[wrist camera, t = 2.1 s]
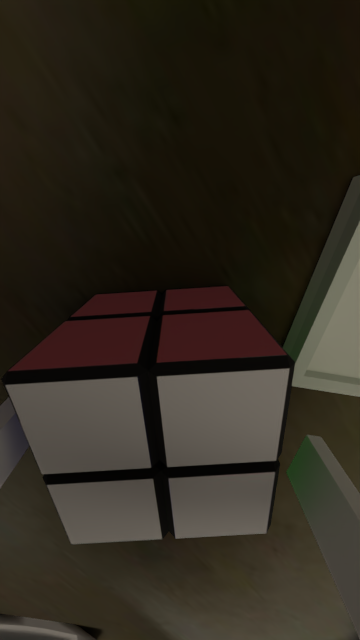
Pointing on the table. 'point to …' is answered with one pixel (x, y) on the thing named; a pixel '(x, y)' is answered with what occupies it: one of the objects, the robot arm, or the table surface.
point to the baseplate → (332, 310)
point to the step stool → (39, 629)
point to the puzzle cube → (157, 416)
